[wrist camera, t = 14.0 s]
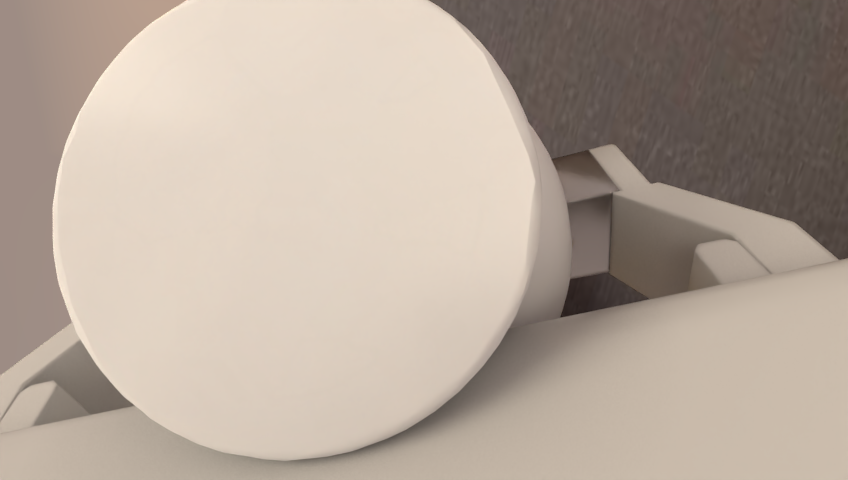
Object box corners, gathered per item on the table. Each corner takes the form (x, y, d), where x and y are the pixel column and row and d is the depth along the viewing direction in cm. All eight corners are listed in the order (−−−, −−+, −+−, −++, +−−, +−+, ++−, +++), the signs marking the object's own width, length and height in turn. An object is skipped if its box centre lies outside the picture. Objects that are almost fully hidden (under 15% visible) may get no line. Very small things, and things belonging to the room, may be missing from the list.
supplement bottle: (513, 179, 17) (656, -153, 5) (516, 372, 17) (696, 618, 4) (327, 181, 18) (-11, -114, 5) (320, 368, 17) (-96, 570, 4)
